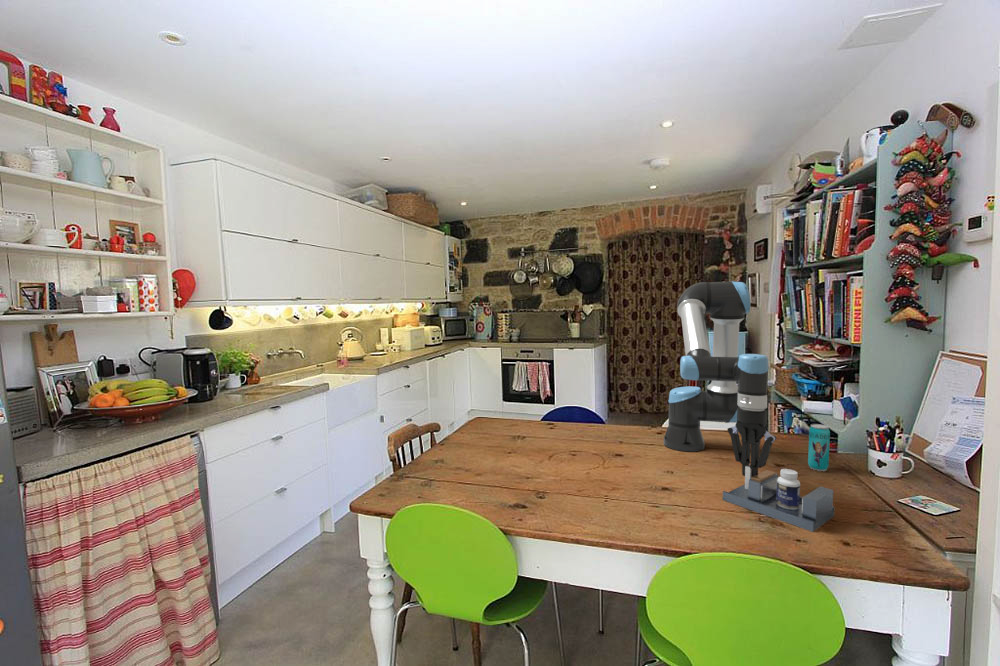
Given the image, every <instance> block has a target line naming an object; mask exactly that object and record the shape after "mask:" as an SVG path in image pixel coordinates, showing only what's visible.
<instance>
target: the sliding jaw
mask: <svg viewBox="0 0 1000 666" xmlns="http://www.w3.org/2000/svg"><path fill="white" fill-rule="evenodd" d="M778 477H779V474H778V473H776V471H772V470H768V469H766V470H764V471H762V472H760V473H759V472H758V474H757V475H755V476H753V477H752V478H751V479H749V486H748V499H750V500H753V501H756V502H759V503H763V502H764V501H766V500H768V499H770V498H772V497H773V496H775V495H776V494H777V479H778Z"/></svg>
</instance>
